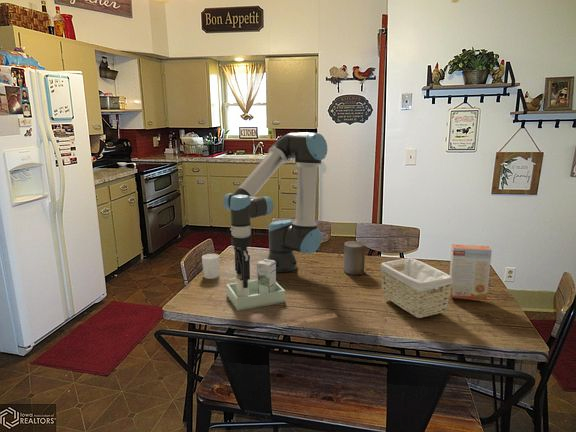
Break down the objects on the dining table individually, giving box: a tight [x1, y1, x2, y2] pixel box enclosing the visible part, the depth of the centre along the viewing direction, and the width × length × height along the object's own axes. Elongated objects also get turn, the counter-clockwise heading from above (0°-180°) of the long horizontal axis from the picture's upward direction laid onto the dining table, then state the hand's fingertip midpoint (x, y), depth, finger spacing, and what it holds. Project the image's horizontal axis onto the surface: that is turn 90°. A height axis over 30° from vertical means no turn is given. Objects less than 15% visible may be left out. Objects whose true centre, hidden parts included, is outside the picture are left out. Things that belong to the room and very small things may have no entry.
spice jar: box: [235, 274, 250, 298], centre depth 162 cm, size 5×5×10 cm
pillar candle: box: [343, 240, 366, 275], centre depth 194 cm, size 10×10×15 cm
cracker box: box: [449, 243, 493, 301], centre depth 165 cm, size 14×6×21 cm, turn 76°
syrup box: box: [256, 258, 277, 294], centre depth 166 cm, size 6×6×14 cm
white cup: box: [201, 253, 220, 280], centre depth 189 cm, size 8×8×10 cm
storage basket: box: [380, 257, 453, 319], centre depth 158 cm, size 24×16×15 cm
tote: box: [226, 278, 286, 312], centre depth 165 cm, size 20×16×5 cm
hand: (242, 292), depth 163 cm, fingers closed on spice jar, 5 cm apart
